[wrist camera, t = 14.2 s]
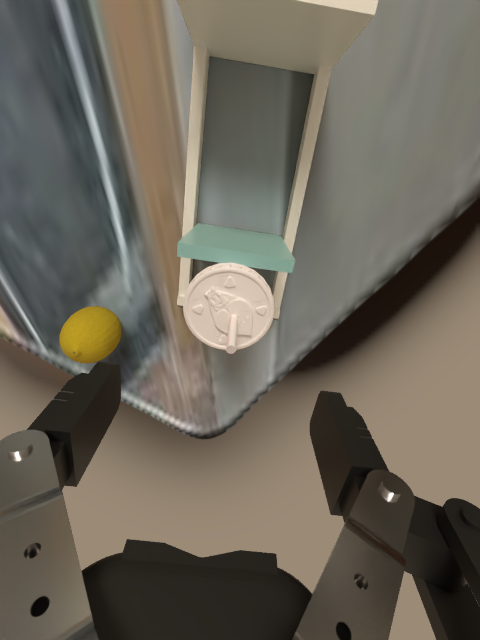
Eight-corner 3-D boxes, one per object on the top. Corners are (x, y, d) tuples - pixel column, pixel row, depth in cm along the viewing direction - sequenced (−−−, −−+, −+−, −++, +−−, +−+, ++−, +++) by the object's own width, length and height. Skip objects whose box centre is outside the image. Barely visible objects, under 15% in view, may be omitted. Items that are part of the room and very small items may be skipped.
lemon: (127, 343, 38) (98, 383, 31) (81, 330, 37) (42, 367, 30) (135, 304, 36) (107, 337, 28) (87, 289, 35) (45, 319, 28)
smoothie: (231, 314, 32) (221, 406, 19) (187, 268, 30) (143, 337, 17) (280, 274, 30) (304, 348, 17) (236, 223, 28) (227, 263, 15)
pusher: (197, 233, 31) (177, 256, 22) (197, 223, 31) (177, 242, 22) (278, 245, 31) (292, 273, 22) (280, 235, 31) (295, 260, 22)
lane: (181, 298, 35) (155, 347, 25) (198, 38, 25) (168, -51, 15) (275, 311, 36) (287, 364, 26) (328, 61, 26) (380, -11, 16)
